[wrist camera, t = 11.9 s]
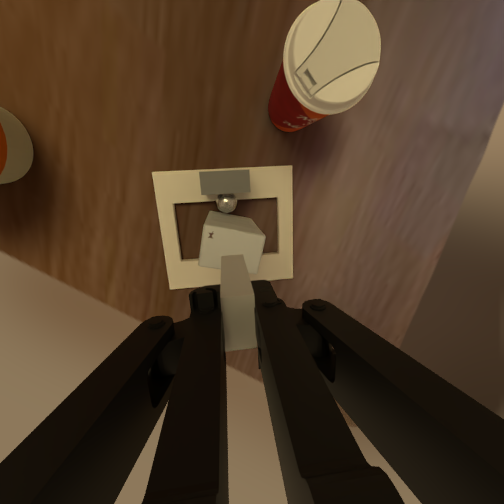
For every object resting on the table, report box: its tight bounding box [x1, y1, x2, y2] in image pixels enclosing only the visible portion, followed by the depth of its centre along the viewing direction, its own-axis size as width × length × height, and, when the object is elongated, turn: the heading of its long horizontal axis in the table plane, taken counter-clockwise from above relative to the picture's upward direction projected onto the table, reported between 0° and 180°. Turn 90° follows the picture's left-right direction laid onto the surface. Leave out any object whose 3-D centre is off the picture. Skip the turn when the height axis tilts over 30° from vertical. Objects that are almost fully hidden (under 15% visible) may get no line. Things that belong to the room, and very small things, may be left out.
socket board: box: [152, 165, 293, 290], centre depth 32 cm, size 16×18×6 cm
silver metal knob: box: [216, 193, 237, 213], centre depth 30 cm, size 5×3×3 cm, turn 3°
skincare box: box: [198, 211, 266, 274], centre depth 29 cm, size 6×4×12 cm
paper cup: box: [268, 0, 381, 132], centre depth 24 cm, size 8×8×14 cm
